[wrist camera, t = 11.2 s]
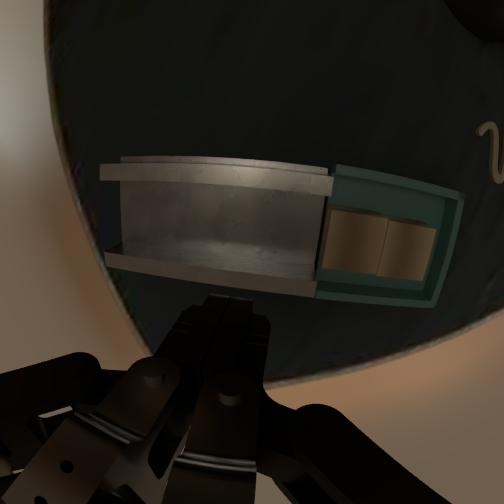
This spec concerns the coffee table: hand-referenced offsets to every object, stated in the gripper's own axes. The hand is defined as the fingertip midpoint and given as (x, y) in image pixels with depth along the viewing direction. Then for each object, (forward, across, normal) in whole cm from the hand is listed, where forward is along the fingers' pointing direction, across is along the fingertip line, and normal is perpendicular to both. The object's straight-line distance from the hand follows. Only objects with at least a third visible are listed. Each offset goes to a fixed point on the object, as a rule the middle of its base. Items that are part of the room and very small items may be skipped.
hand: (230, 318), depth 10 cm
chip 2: (+17, -13, +1) cm, 21 cm away
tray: (+17, -12, +1) cm, 21 cm away
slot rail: (+17, +5, 0) cm, 18 cm away
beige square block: (+17, -8, +1) cm, 18 cm away
